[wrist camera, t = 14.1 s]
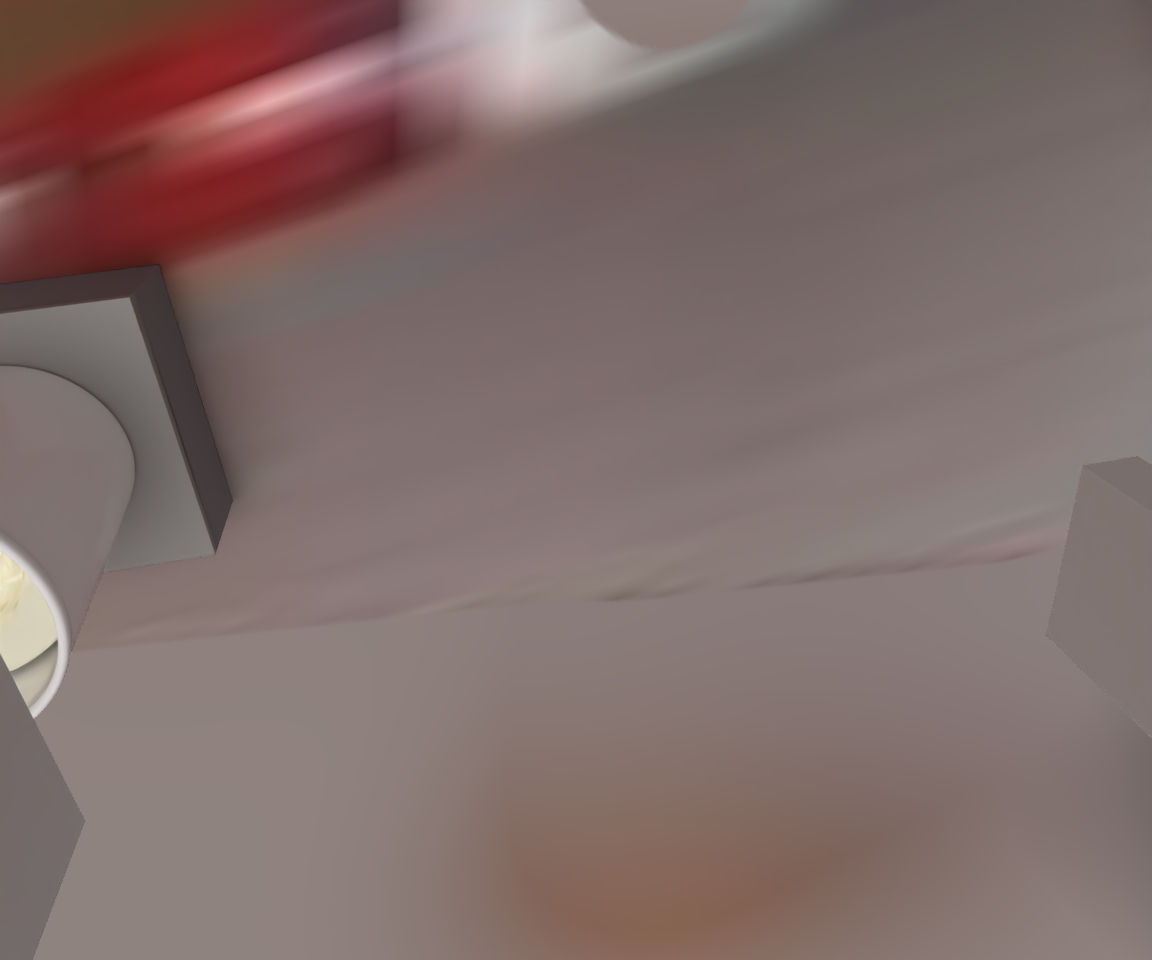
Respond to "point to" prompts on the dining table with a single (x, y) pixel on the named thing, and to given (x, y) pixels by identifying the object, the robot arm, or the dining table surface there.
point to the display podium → (129, 399)
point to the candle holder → (54, 520)
